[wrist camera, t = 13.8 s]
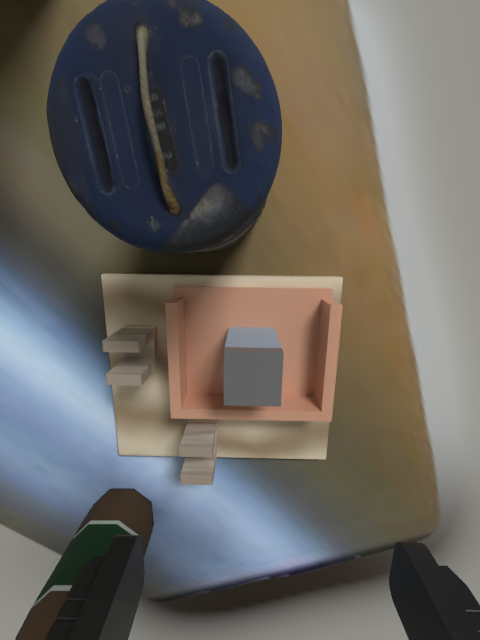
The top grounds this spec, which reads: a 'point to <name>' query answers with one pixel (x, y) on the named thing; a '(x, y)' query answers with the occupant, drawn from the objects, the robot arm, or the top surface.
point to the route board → (153, 380)
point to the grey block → (253, 367)
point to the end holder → (252, 311)
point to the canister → (165, 123)
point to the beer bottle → (89, 552)
